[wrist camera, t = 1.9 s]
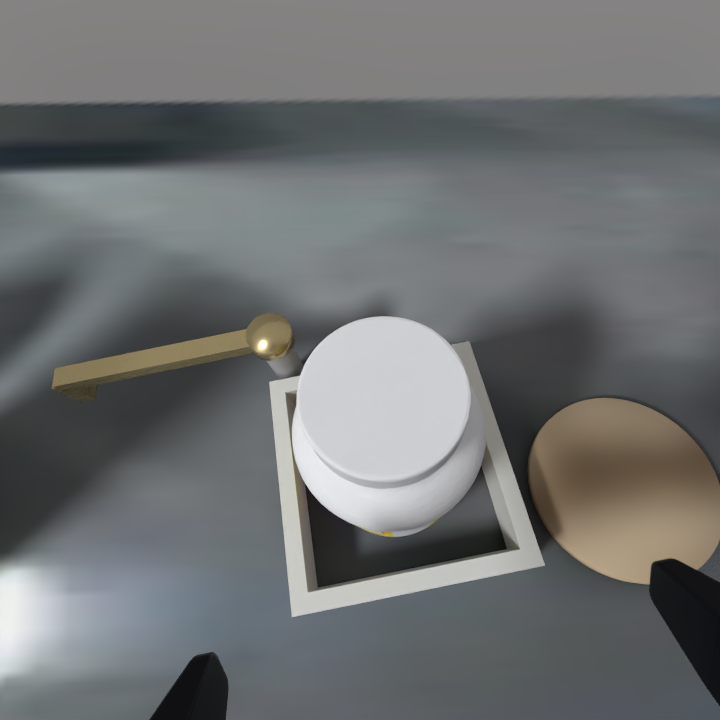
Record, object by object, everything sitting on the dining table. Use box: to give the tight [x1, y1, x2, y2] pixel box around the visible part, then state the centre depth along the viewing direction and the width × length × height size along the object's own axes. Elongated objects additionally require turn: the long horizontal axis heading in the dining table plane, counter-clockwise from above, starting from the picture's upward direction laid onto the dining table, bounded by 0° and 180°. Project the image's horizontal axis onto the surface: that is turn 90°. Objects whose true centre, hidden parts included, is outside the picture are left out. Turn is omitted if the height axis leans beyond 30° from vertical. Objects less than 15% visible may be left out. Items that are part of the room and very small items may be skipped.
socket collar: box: [267, 341, 545, 617], centre depth 21 cm, size 13×11×5 cm
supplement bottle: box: [292, 316, 486, 537], centre depth 17 cm, size 7×7×13 cm
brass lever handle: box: [52, 313, 295, 402], centre depth 21 cm, size 2×12×2 cm, turn 101°
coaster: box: [527, 398, 720, 584], centre depth 21 cm, size 9×9×1 cm
